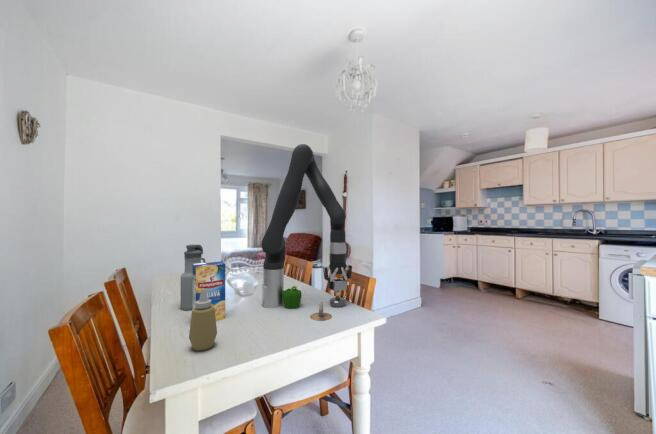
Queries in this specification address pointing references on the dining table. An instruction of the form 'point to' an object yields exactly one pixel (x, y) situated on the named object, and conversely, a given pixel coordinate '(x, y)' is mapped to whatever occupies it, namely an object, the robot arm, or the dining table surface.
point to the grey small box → (339, 284)
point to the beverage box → (210, 285)
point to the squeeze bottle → (203, 324)
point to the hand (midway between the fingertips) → (337, 288)
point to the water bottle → (189, 274)
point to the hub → (337, 301)
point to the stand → (321, 314)
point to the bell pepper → (291, 298)
